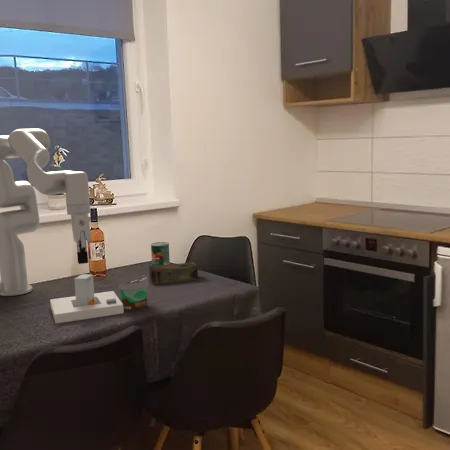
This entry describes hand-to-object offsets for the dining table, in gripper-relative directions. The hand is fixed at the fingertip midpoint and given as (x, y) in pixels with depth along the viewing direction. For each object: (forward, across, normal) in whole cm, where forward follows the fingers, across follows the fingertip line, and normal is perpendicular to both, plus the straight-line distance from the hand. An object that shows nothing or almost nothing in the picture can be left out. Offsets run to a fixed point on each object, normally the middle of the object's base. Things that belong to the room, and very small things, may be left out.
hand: (83, 262), depth 185 cm
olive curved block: (+17, +24, -38) cm, 48 cm away
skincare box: (+17, 0, 0) cm, 17 cm away
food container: (+17, -6, -17) cm, 25 cm away
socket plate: (+17, 0, 0) cm, 17 cm away
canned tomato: (+17, +46, -39) cm, 63 cm away
